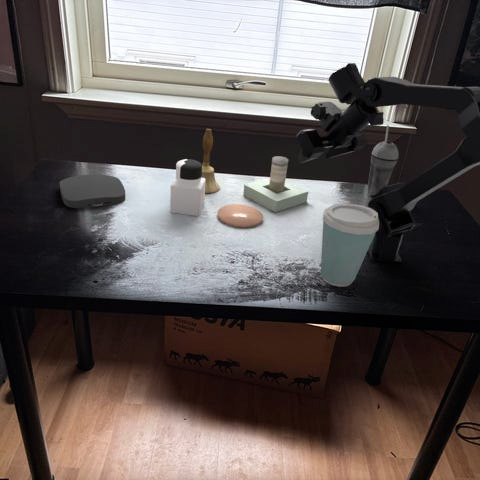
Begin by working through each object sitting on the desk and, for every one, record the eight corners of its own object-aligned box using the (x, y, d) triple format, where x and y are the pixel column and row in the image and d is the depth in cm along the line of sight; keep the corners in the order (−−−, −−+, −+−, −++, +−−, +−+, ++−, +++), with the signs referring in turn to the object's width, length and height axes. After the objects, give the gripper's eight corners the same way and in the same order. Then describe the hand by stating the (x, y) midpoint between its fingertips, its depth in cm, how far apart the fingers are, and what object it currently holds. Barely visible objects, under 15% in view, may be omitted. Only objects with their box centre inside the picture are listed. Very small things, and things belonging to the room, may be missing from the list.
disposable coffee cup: (302, 281, 92) (315, 212, 85) (320, 257, 101) (334, 193, 93) (355, 300, 88) (373, 229, 81) (369, 274, 97) (387, 208, 89)
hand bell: (190, 180, 131) (193, 123, 123) (220, 182, 131) (225, 126, 124) (187, 192, 124) (190, 132, 116) (219, 195, 124) (223, 135, 116)
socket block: (306, 201, 125) (308, 191, 124) (275, 212, 118) (276, 201, 117) (274, 186, 133) (276, 176, 131) (243, 194, 126) (244, 184, 124)
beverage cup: (390, 201, 131) (410, 130, 121) (364, 199, 131) (382, 128, 121) (384, 191, 137) (402, 123, 128) (359, 188, 137) (375, 120, 127)
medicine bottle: (204, 204, 118) (207, 158, 112) (199, 216, 112) (201, 169, 106) (176, 200, 119) (177, 155, 113) (169, 212, 112) (170, 165, 107)
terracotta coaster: (263, 229, 109) (263, 226, 109) (216, 225, 109) (216, 222, 109) (262, 209, 119) (262, 206, 118) (218, 205, 119) (219, 202, 118)
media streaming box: (58, 186, 120) (57, 175, 119) (116, 182, 126) (115, 171, 125) (65, 211, 109) (64, 199, 107) (129, 205, 115) (128, 193, 113)
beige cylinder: (283, 202, 124) (289, 162, 118) (267, 200, 124) (272, 161, 118) (282, 195, 127) (287, 157, 122) (267, 194, 127) (272, 155, 122)
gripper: (364, 88, 110) (325, 128, 123) (305, 92, 100) (269, 135, 112) (386, 128, 108) (344, 165, 120) (328, 136, 97) (289, 175, 110)
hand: (312, 159), depth 116 cm, fingers open, 9 cm apart
